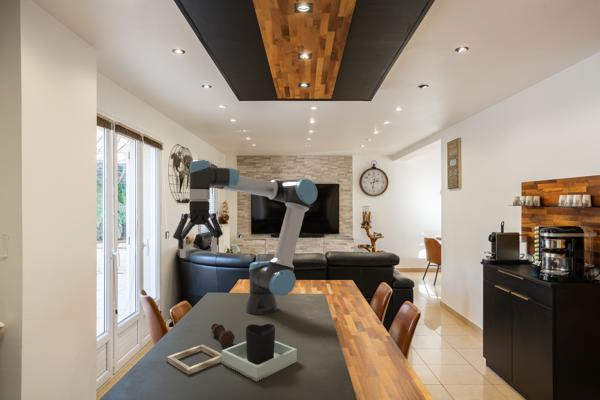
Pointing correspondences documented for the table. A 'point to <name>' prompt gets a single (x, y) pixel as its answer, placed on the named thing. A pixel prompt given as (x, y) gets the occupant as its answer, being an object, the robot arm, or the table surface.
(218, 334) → the bolt
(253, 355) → the pen holder
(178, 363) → the square wooden frame
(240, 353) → the bin
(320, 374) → the table surface
